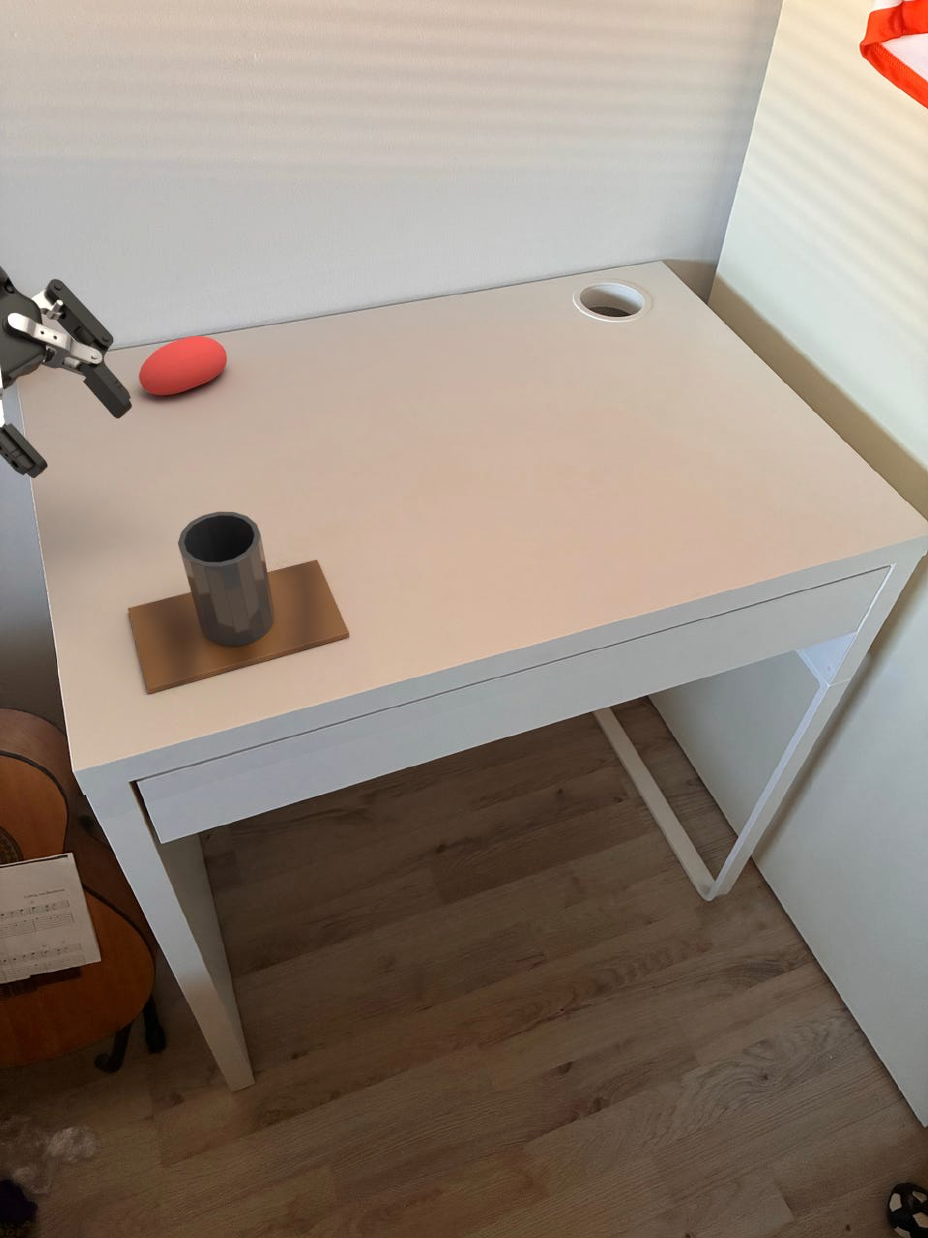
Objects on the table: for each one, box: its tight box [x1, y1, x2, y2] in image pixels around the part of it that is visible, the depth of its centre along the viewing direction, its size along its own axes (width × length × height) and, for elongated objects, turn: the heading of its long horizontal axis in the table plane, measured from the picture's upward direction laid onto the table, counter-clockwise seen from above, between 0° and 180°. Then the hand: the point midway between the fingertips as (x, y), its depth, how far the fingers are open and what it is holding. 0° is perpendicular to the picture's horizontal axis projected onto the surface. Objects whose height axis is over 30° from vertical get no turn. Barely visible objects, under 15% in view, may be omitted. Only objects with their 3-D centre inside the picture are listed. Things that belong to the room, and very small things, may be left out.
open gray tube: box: [177, 511, 274, 647], centre depth 74 cm, size 6×6×9 cm
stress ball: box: [138, 335, 228, 396], centre depth 98 cm, size 5×9×6 cm, turn 118°
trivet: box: [127, 559, 350, 695], centre depth 77 cm, size 16×9×1 cm, turn 112°
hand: (85, 441), depth 71 cm, fingers open, 8 cm apart
